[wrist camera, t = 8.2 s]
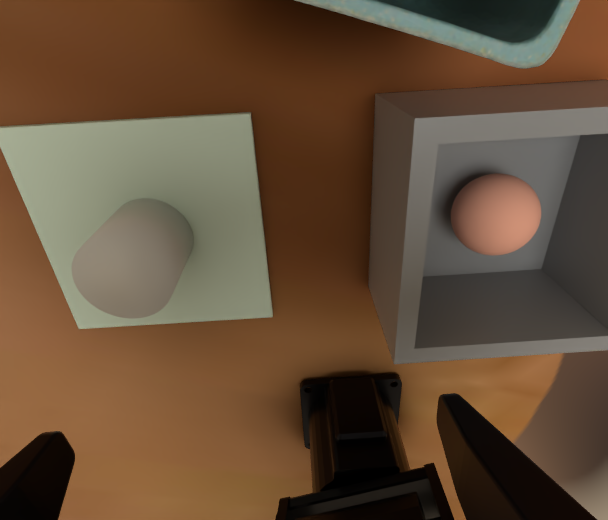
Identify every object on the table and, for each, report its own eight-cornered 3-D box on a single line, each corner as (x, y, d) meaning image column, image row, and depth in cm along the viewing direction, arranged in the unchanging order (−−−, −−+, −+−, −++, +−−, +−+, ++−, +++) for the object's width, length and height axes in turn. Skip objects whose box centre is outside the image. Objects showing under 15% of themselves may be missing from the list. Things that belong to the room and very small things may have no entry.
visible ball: (506, 231, 20) (547, 267, 17) (435, 236, 20) (463, 273, 17) (522, 160, 18) (571, 186, 15) (444, 165, 18) (477, 192, 15)
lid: (273, 306, 23) (270, 369, 19) (86, 317, 23) (40, 383, 19) (252, 109, 18) (240, 134, 13) (7, 123, 18) (-86, 152, 13)
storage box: (545, 274, 22) (626, 348, 17) (368, 286, 22) (394, 364, 17) (604, 79, 17) (745, 97, 12) (375, 93, 17) (414, 118, 12)
